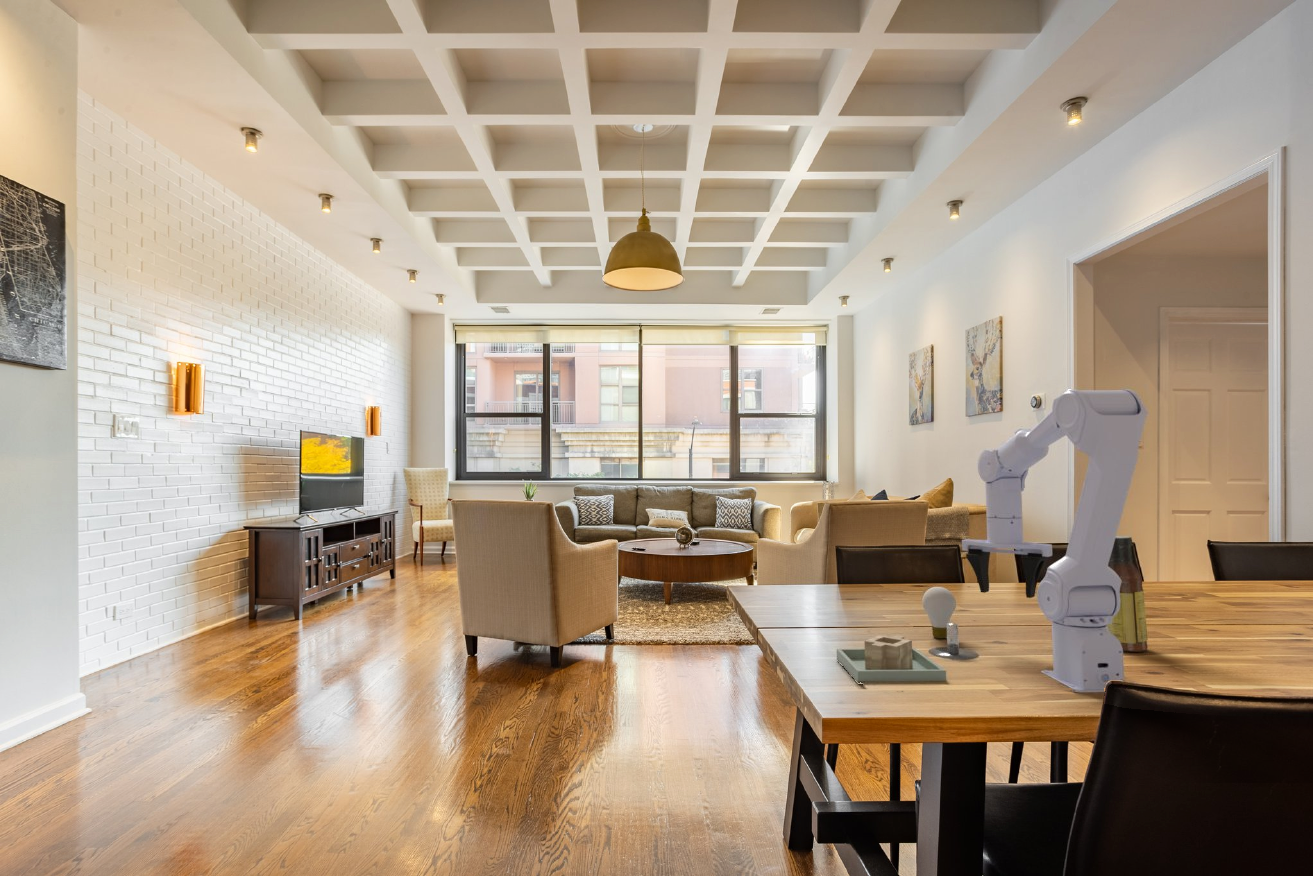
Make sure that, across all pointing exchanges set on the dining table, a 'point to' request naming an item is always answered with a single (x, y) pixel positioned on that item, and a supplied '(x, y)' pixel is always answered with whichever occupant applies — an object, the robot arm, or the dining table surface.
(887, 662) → the beige hollow block
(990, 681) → the dining table surface
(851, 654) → the tray
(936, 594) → the light bulb
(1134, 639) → the sauce bottle
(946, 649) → the grey metal round stand
